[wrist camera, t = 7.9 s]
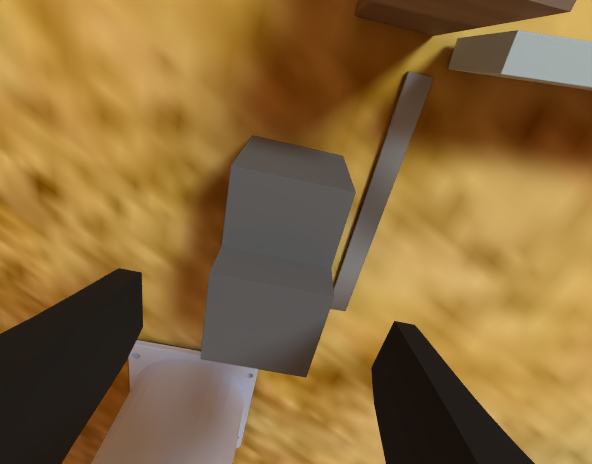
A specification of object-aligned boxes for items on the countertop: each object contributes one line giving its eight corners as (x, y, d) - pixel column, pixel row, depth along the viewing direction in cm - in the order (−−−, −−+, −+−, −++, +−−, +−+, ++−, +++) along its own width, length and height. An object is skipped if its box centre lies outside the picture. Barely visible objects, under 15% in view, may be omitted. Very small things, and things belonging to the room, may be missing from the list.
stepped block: (306, 280, 17) (306, 377, 12) (233, 266, 17) (200, 359, 12) (342, 155, 14) (363, 213, 9) (252, 135, 14) (218, 183, 9)
